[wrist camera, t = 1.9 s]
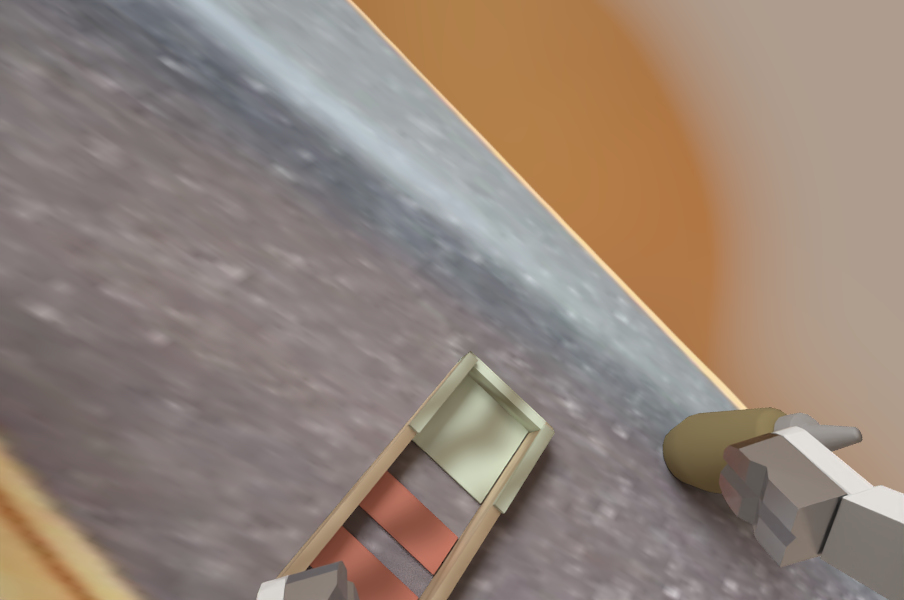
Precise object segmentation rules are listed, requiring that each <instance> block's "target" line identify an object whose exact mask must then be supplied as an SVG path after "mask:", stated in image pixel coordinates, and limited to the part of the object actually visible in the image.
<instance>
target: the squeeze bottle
mask: <svg viewBox="0 0 904 600" xmlns="http://www.w3.org/2000/svg"><path fill="white" fill-rule="evenodd" d="M793 426H797V427H800V428H802V429H804V430H806V431H807V432H808V433H809V434H811V435H812V436H813V437H814V438H815V439H817V440H818V441H819V442H820V443H821V444H823V445H824V446H825V447H826V448H828V449H829V450H830V451H831V452H832V451H835V450H838V449H841V448H844V447H847V446H850V445H853V444H856V443H859V442H861V441H862V435H861V432H860V431H859V430H858V429H857V428H856V427H847V426H832V425H819V423H818V422H817V421H816V420H815V419H813V418H812V417H811V416H809V415H807V414H803V413H796V414H790V415H786V414H785V413H784V412H782V411H781V410H778V409H774V408H770V407H769V408H758V409H745V410H733V411H721V412H709V413H699V414H695V415H692V416H689V417H688V418H686V419H685V420H684V421H682V422H681V423H680V424H678V425H677V426H676V427H674V428H673V429H672V430H670V432H669V433H668V434H667V435H666V436H665V439H664V443H663V455H664V459H665V461H666V464H667V467H668V468H669V470H670V471H671V472H672V474H673V475H674V476H675V477H676V478H678V479H679V480H681V481H682V482H684V483H687V484H689V485H692V486H695V487H697V488H700V489H703V490H705V491H708V492H714V493H719V494H721V493H722V491H721V488H720V485H719V479H720V472H721V471H722V470H723V469H724V467H725V466H726V465H727V464H728V463H727V462H726V461H725V460H724V459H723V454H724V449H726V448H727V447H728V446H729V445H732V444H735V443H738V442H741V441H744V440H748V439H751V438H754V437H757V436H760V435H763V434H767V433H772V432H775V431H779V430H782V429H785V428H788V427H793Z"/></svg>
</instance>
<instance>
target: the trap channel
mask: <svg viewBox="0 0 904 600" xmlns="http://www.w3.org/2000/svg"><path fill="white" fill-rule="evenodd" d="M527 433H528V435H527V436H526V434H527ZM554 433H555V432H554V431H553V428H552V427H551V426H550V425H549V424H548V423H547V422H546V421H545V420H544V419H543V418H542V417H541V416H540V415H538V414H537V413H536V412H535V411H534V410H533V409H532V408H531V407H530V406H529V405H528V404H527V403H526V402H525V401H524V400H522V399H521V398H520V397H519V396H518V395H517V394H516V393H515V392H514V391H513V390H512V389H511V388H510V387H509V386H508V385H506V384H505V383H504V382H503V381H502V380H501V379H500V378H499V377H498V376H497V375H496V374H495V373H494V372H493V371H492V370H490V369H489V368H488V367H487V366H486V365H485V364H484V363H483V362H482V361H481V360H480V359H479V358H478V357H477V356H476V355H474V354H473V353H472V352H471V351H470V352H469V353H468V354H466V355H465V356H463V357H462V358H461V359H460V360H459V362H458V363H457V364H456V365H455V366H454V367H453V369H452V370H451V371H450V372H449V373H448V375H447V376H446V377H445V378H444V379H443V381H442V382H441V383H440V384H439V385H438V386H437V388H436V389H435V390H434V391H433V392H432V394H431V395H430V396H429V397H428V398H427V400H426V401H425V402H424V403H423V404H422V405H421V407H420V408H419V409H418V410H417V411H416V413H415V414H414V415H413V416H412V417H411V419H410V420H409V421H408V422H407V423H406V424H405V426H404V427H403V428H402V429H401V430H400V432H399V433H398V434H397V435H396V436H395V437H394V439H393V440H392V441H391V442H390V443H389V445H388V446H387V447H386V448H385V449H384V451H383V452H382V453H381V454H380V455H379V456H378V458H377V459H376V460H375V461H374V462H373V464H372V465H371V466H370V467H369V468H368V470H367V471H366V472H365V473H364V474H363V475H362V477H361V478H360V479H359V480H358V481H357V483H356V484H355V485H354V486H353V487H352V489H351V490H350V491H349V492H348V493H347V494H346V496H345V497H344V498H343V499H342V500H341V502H340V503H339V504H338V505H337V506H336V508H335V509H334V510H333V511H332V512H331V513H330V515H329V516H328V517H327V518H326V519H325V521H324V522H323V523H322V524H321V525H320V527H319V528H318V529H317V530H316V531H315V532H314V534H313V535H312V536H311V537H310V538H309V540H308V541H307V542H306V543H305V544H304V546H303V547H302V548H301V549H300V550H299V551H298V553H297V554H296V555H295V556H294V557H293V559H292V560H291V561H290V562H289V563H288V565H287V566H286V567H285V568H284V569H283V570H282V572H281V573H280V574H279V575H278V576H277V578H281V577H284V576H287V575H292V574H296V573H299V572H303V571H305V570H306V569H307V568H308V566H309V565H310V566H311V567H312V568H317V567H320V566H324V565H327V564H331V563H334V562H338V561H341V560H342V561H343V563H344V565H345V567H346V569H347V580H348V581H350V582H353V583H354V585H355V587H356V589H357V592H358V596H359V599H360V600H417V599H418V597H417V596H416V595H415V594H414V593H413V592H412V591H411V590H410V589H409V588H408V587H407V586H406V585H404V584H403V583H402V582H401V581H400V580H399V579H398V578H397V577H396V576H395V575H394V574H393V573H392V572H391V571H390V570H389V569H387V568H386V567H385V566H384V565H383V564H382V563H381V562H380V561H379V560H378V559H377V558H376V557H375V556H374V555H373V554H372V553H370V552H369V551H368V550H367V549H366V548H365V547H364V546H363V545H362V544H361V543H360V542H359V541H358V540H357V539H356V538H355V537H353V536H352V535H351V534H350V533H349V532H348V531H347V530H346V529H345V528H344V527H343V526H342V525H343V523H344V522H345V521H346V520H347V518H348V517H349V516H350V515H351V514H352V512H353V511H354V510H355V509H356V507H357V506H358V505H359V506H360V507H361V508H362V509H364V510H365V511H366V512H367V513H368V514H369V515H370V516H371V517H372V518H373V519H374V520H375V521H376V522H377V523H378V524H379V525H381V526H382V527H383V528H384V529H385V530H386V531H387V532H388V533H389V534H390V535H391V536H392V537H393V538H394V539H395V540H396V541H398V542H399V543H400V544H401V545H402V546H403V547H404V548H405V549H406V550H407V551H408V552H409V553H410V554H411V555H412V556H413V557H415V558H416V559H417V560H418V561H419V562H420V563H421V564H422V565H423V566H424V567H425V568H426V569H427V570H428V571H429V572H430V573H431V574H433V575H434V574H435V572H436V571H437V569H438V568H439V566H440V565H441V563H442V562H443V560H444V558H445V557H446V555H447V554H448V552H449V551H450V549H451V548H452V546H453V545H454V543H455V542H456V540H457V539H458V537H457V536H456V535H455V534H454V533H453V532H452V531H451V530H450V529H449V528H447V527H446V526H445V525H444V524H443V523H442V522H441V521H440V520H439V519H438V518H437V517H436V516H435V515H434V514H433V513H432V512H430V511H429V510H428V509H427V508H426V507H425V506H424V505H423V504H422V503H421V502H420V501H419V500H418V499H417V498H416V497H415V496H413V495H412V494H411V493H410V492H409V491H408V490H407V489H406V488H405V487H404V486H403V485H402V484H401V483H400V482H399V481H397V480H396V479H395V478H394V477H393V476H392V475H391V474H390V473H389V472H388V471H387V469H388V468H389V467H390V466H391V465H392V463H393V462H394V461H395V460H396V458H397V457H398V456H399V455H400V454H401V452H402V451H403V450H404V449H405V447H406V446H407V445H408V444H409V442H410V441H411V440H412V441H413V442H415V443H416V444H417V445H418V446H419V447H420V448H421V449H422V450H423V451H424V452H425V453H426V454H427V455H428V456H429V457H431V458H432V459H433V460H434V461H435V462H436V463H437V464H438V465H439V466H440V467H441V468H442V469H443V470H444V471H445V472H446V473H448V474H449V475H450V476H451V477H452V478H453V479H454V480H455V481H456V482H457V483H458V484H459V485H460V486H461V487H462V488H464V489H465V490H466V491H467V492H468V493H469V494H470V495H471V496H472V497H473V498H474V499H475V500H476V501H477V502H478V503H479V504H481V502H482V501H483V499H484V498H485V496H486V495H487V493H488V492H489V490H490V489H491V487H492V486H493V484H494V483H495V481H496V480H497V478H498V477H499V475H500V474H501V472H502V471H503V469H504V468H505V466H506V465H507V463H508V462H509V460H510V459H511V457H512V456H513V454H514V453H515V451H516V450H517V448H518V446H519V445H520V443H521V442H522V440H523V439H524V437H525V436H526V438H525V439H524V441H523V442H522V444H521V445H520V447H519V448H518V450H517V451H516V453H515V454H514V456H513V457H512V459H511V460H510V462H509V463H508V465H507V467H506V468H505V470H504V471H503V473H502V474H501V476H500V477H499V479H498V480H497V482H496V483H495V485H494V486H493V488H492V489H491V491H490V492H489V494H488V495H487V497H486V498H485V500H484V501H483V503H482V504H481V506H480V507H479V509H478V511H477V512H476V514H475V515H474V517H473V518H472V520H471V521H470V523H469V524H468V526H467V527H466V529H465V530H464V532H463V533H462V535H461V536H460V538H459V539H458V541H457V542H456V544H455V545H454V547H453V548H452V550H451V551H450V553H449V555H448V556H447V558H446V559H445V561H444V562H443V564H442V565H441V567H440V568H439V570H438V571H437V573H436V574H435V576H434V577H433V579H432V580H431V582H430V583H429V585H428V586H427V588H426V589H425V591H424V592H423V594H422V595H421V597H420V599H419V600H447V598H448V597H449V595H450V594H451V592H452V590H453V589H454V587H455V586H456V584H457V582H458V581H459V579H460V578H461V576H462V574H463V573H464V571H465V570H466V568H467V566H468V565H469V563H470V562H471V560H472V558H473V557H474V555H475V554H476V552H477V550H478V549H479V547H480V546H481V544H482V543H483V541H484V539H485V538H486V536H487V535H488V533H489V531H490V530H491V528H492V527H493V525H494V523H495V522H496V520H497V519H498V517H499V515H500V514H501V513H505V512H506V510H507V509H508V507H509V505H510V504H511V502H512V501H513V499H514V497H515V496H516V494H517V493H518V491H519V489H520V488H521V486H522V485H523V483H524V481H525V480H526V478H527V477H528V475H529V473H530V472H531V470H532V468H533V467H534V465H535V464H536V462H537V460H538V459H539V457H540V456H541V454H542V452H543V451H544V449H545V448H546V446H547V444H548V443H549V441H550V440H551V438H552V436H553V435H554ZM277 578H276V579H277Z"/></svg>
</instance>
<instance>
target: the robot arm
mask: <svg viewBox="0 0 904 600" xmlns="http://www.w3.org/2000/svg"><path fill="white" fill-rule="evenodd" d="M723 459H724V460H725V461H726V462H727V463H728V464H727V465H726V466H725V467H724V469H723V470H722V471H721V472H720V479H719V485H720V488H721V491H722V495H723V497H724V499H725V501H726V502H727V504H728V506H729V507H730V508H731V510H732V511H733V512H734V513H735V514H736V516H737V517H738V518H740V519H742V520H744V521H746V522H748V523H750V524H752V525H753V531H754V537H755V538H756V540H757V541H758V542H759V543H760V544H761V546H762V547H763V548H764V549H765V550H766V551H767V553H768V554H769V555H770V556H771V557H772V559H773V560H774V561H775V562H776V563H777V564H778V566H779V567H783V566H787V565H790V564H794V563H797V562H800V561H804V560H807V559H811V558H814V557H818V556H821V557H820V559H822V560H823V561H825V562H827V563H828V564H830V565H832V566H834V567H835V568H837V569H839V570H840V571H842V572H844V573H845V574H847V575H849V576H850V577H852V578H854V579H855V580H857V581H859V582H860V583H862V584H864V585H865V586H867V587H869V588H870V589H872V590H874V591H875V592H877V593H879V594H880V595H882V596H884V597H885V598H887V599H889V600H904V494H903V493H900V492H898V491H895V490H893V489H890V488H887V487H885V486H882V485H880V486H875V487H874V486H872V485H871V484H870V483H869V482H867V481H866V480H865V479H864V478H863V477H861V476H860V475H859V474H858V473H857V472H855V471H854V470H853V469H852V468H850V467H849V466H848V465H847V464H845V462H843V461H842V460H841V459H840V458H838V457H837V456H836V455H835V454H834V453H832V452H831V451H830V450H829V449H828V448H826V447H825V446H824V445H823V444H821V443H820V442H819V441H818V440H817V439H815V438H814V437H813V436H812V435H811V434H809V433H808V432H807V431H806V430H804V429H802V428H800V427H797V426H793V427H788V428H785V429H782V430H779V431H775V432H772V433H767V434H763V435H760V436H757V437H754V438H751V439H748V440H744V441H741V442H738V443H735V444H732V445H729V446H728V447H727V448H726V449H724V454H723ZM256 600H360V599H359V596H358V592H357V589H356V587H355V585H354V583H353V582H350V581H348V580H347V569H346V567H345V565H344V563H343V561H342V560H341V561H338V562H334V563H331V564H327V565H324V566H320V567H317V568H313V569H310V570H306V571H303V572H299V573H296V574H292V575H287V576H284V577H281V578H277V579H274V580H271V581H267V582H264V583H262V584H261V587H260V589H259V591H258V594H257V599H256Z"/></svg>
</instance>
